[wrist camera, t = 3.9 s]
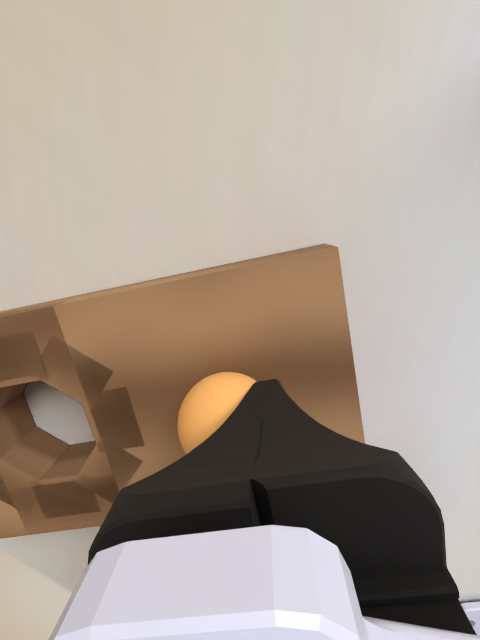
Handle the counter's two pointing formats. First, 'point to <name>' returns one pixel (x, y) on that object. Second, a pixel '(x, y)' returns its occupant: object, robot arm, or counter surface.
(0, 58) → the counter surface
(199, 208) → the counter surface
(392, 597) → the robot arm
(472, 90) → the counter surface
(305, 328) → the board
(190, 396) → the ball
